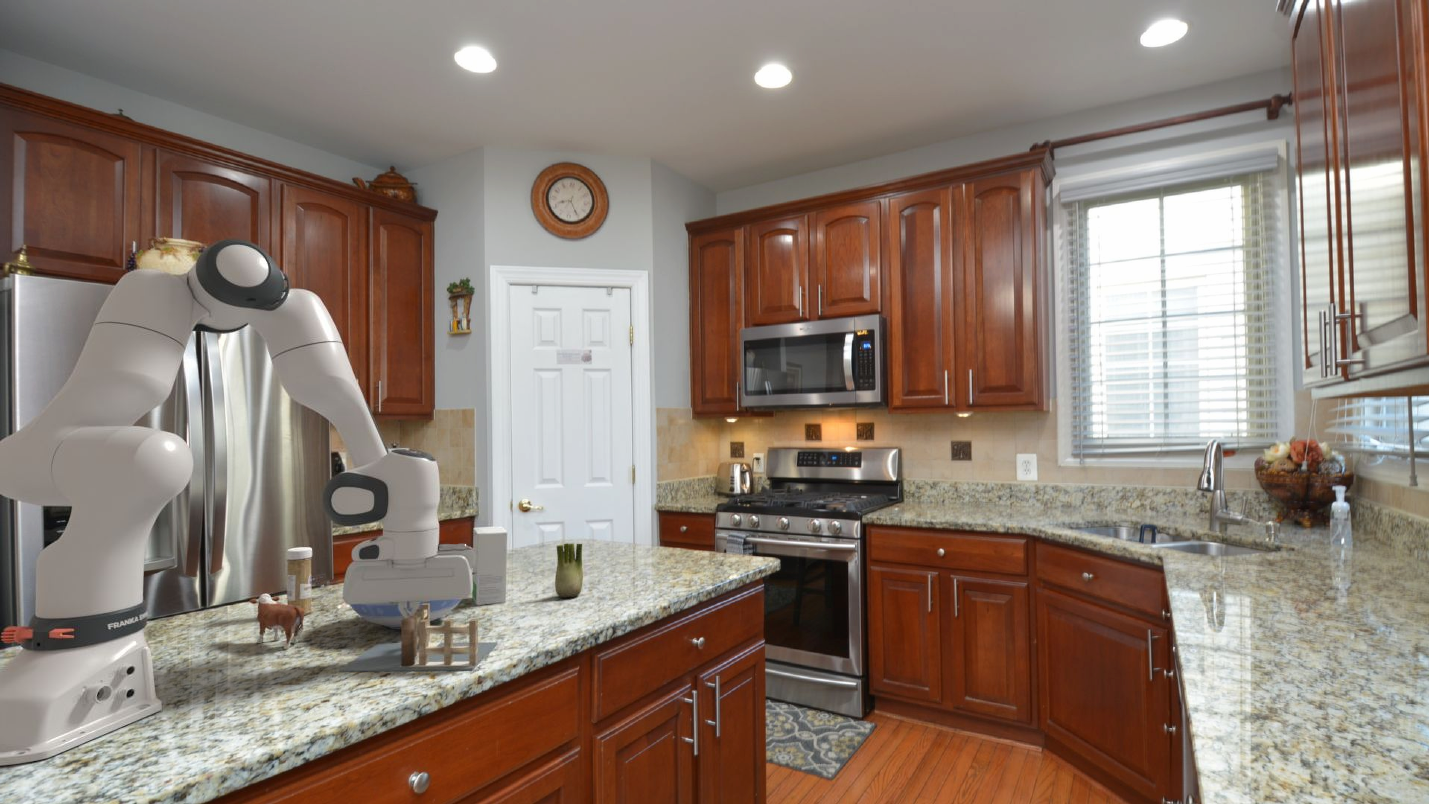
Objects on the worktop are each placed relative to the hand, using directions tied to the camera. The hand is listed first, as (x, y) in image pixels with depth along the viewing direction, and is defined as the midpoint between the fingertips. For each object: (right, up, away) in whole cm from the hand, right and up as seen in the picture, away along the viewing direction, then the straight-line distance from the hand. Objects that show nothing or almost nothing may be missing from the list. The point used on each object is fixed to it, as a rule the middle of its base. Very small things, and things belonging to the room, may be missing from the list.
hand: (409, 627), depth 120 cm
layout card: (+3, -4, -2) cm, 6 cm away
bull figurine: (-26, -5, +6) cm, 28 cm away
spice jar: (-34, -6, +25) cm, 42 cm away
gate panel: (+2, -4, 0) cm, 4 cm away
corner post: (+3, -4, -6) cm, 8 cm away
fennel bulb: (+19, -6, +38) cm, 43 cm away
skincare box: (+2, -6, +36) cm, 36 cm away
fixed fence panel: (+9, -4, -6) cm, 12 cm away
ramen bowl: (-7, -5, +18) cm, 20 cm away
